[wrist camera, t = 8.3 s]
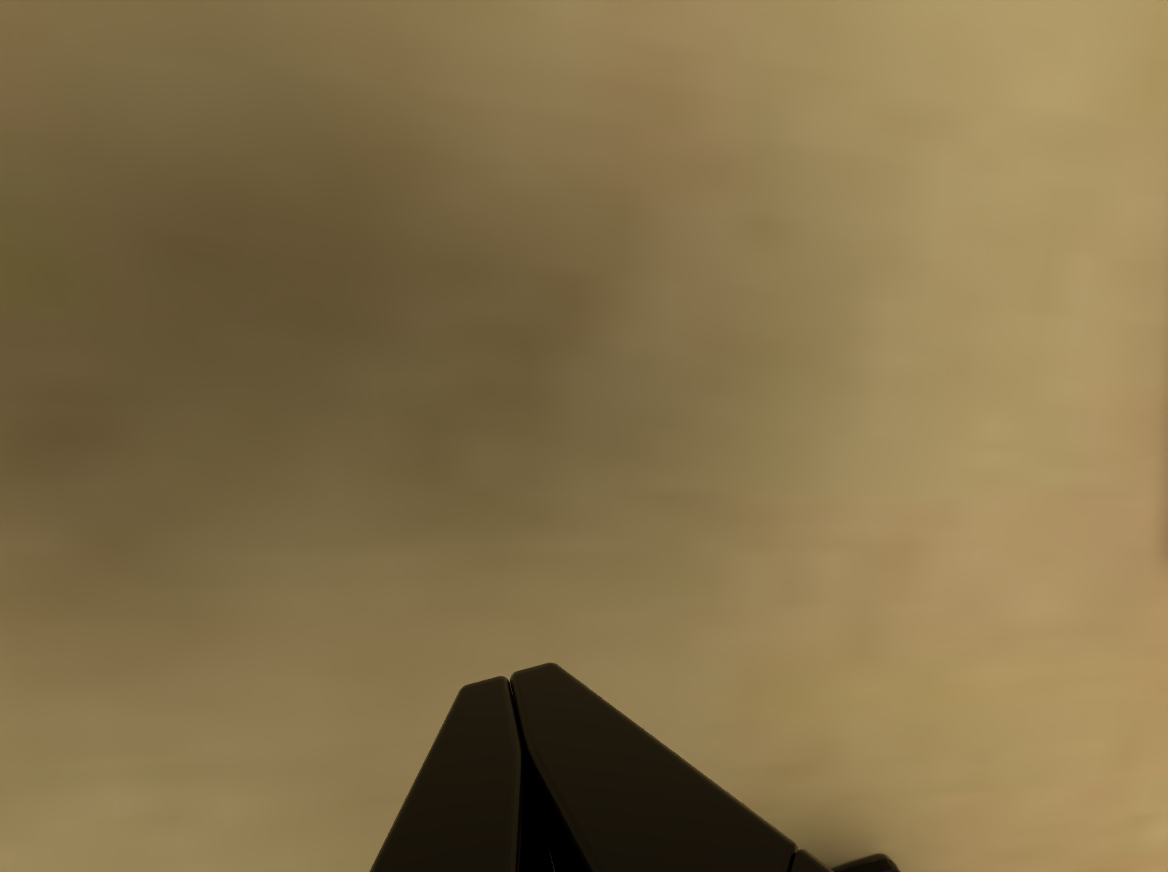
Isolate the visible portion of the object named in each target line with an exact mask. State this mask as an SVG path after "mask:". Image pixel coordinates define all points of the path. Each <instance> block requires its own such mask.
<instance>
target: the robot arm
mask: <svg viewBox="0 0 1168 872" xmlns="http://www.w3.org/2000/svg"><path fill="white" fill-rule="evenodd" d="M510 684H511V686H510ZM511 689H512V690H511ZM512 693H513V694H512ZM514 702H515V703H514ZM549 850H550V851H549ZM550 854H551V855H550ZM551 858H552V859H551ZM552 862H553V863H552ZM553 867H554V868H553ZM554 871H555V872H834V871H832V870H831V869H830V868H828V867H827V866H826V865H824V864H823V863H822V862H820V861H819V860H818V859H817V858H815V857H814V856H813V855H811V854H810V853H809V852H807V851H806V850H804V849H800V850H798V846H797V845H796V844H795V842H793V841H792V840H791V839H789V838H788V837H787V836H785V835H784V834H783V833H781V832H780V831H779V830H777V829H776V828H775V827H773V826H772V825H771V824H769V823H768V822H767V821H765V820H764V819H763V818H761V817H760V816H759V815H757V814H756V813H755V812H753V811H752V810H751V809H749V808H748V807H747V806H745V805H744V804H743V803H741V802H740V801H739V800H737V799H736V798H735V797H733V796H732V795H731V794H729V793H728V792H727V791H725V790H724V789H723V788H721V787H720V786H719V785H717V784H716V783H715V782H713V781H712V780H711V779H709V778H708V777H707V776H705V775H704V774H703V773H701V772H700V771H699V770H697V769H696V768H695V767H693V766H692V765H691V764H689V763H688V762H687V761H685V760H684V759H683V758H681V757H680V756H679V755H677V754H676V753H675V752H673V751H672V750H670V749H669V748H668V747H666V746H665V745H664V744H662V743H661V742H660V741H658V740H657V739H656V738H654V737H653V736H652V735H650V734H649V733H648V732H646V731H645V730H644V729H642V728H641V727H640V726H638V725H637V724H636V723H634V722H633V721H632V720H630V719H629V718H628V717H626V716H625V715H624V714H622V713H621V712H620V711H618V710H617V709H616V708H614V707H613V706H612V705H610V704H609V703H608V702H606V701H605V700H604V699H602V698H601V697H600V696H598V695H597V694H596V693H594V692H593V691H592V690H590V689H589V688H588V687H586V686H585V685H584V684H582V683H581V682H580V681H578V680H577V679H576V678H574V677H573V676H572V675H570V674H569V673H568V672H566V671H565V670H564V669H562V668H561V667H560V666H558V665H557V664H555V663H546V664H542V665H539V666H535V667H531V668H528V669H524V670H520V671H517V672H515V673H513V674H512V676H511V678H510V682H509V680H508V679H507V678H506V677H503V676H498V677H494V678H491V679H487V680H483V681H480V682H476V683H472V684H468V685H465V686H464V687H463V688H462V689H460V691H459V693H458V695H457V697H456V699H455V701H454V703H453V705H452V707H451V709H450V711H449V713H448V715H447V717H446V719H445V721H444V723H443V725H442V727H441V729H440V731H439V733H438V735H437V737H436V739H435V741H434V743H433V745H432V747H431V749H430V751H429V753H428V755H427V757H426V759H425V761H424V763H423V765H422V767H421V769H420V771H419V773H418V775H417V777H416V779H415V781H414V783H413V785H412V787H411V789H410V791H409V793H408V795H407V797H406V799H405V801H404V803H403V805H402V807H401V809H400V811H399V813H398V815H397V817H396V819H395V821H394V824H393V826H392V828H391V830H390V832H389V834H388V836H387V838H386V840H385V842H384V844H383V846H382V848H381V850H380V852H379V854H378V856H377V858H376V860H375V862H374V864H373V866H372V868H371V870H370V872H554ZM841 872H900V870H899V869H898V867H897V866H896V864H895V863H894V862H893V861H891V860H888V859H881V860H877V861H873V862H870V863H867V864H864V865H861V866H857V867H854V868H851V869H848V870H845V871H841Z"/></svg>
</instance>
